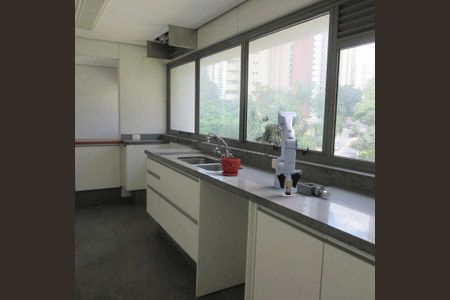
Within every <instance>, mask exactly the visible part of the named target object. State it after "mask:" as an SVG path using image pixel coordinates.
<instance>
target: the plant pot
mask: <svg viewBox="0 0 450 300" xmlns="http://www.w3.org/2000/svg"><path fill="white" fill-rule="evenodd" d="M240 167H241V159H240V158H238V157H222V158H221V169H222V172H221V174H222V175H223V176H225V175H227V176H226V177H236V176H238V175H239V171H240Z"/></svg>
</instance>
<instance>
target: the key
mask: <svg viewBox="0 0 450 300" xmlns="http://www.w3.org/2000/svg"><path fill="white" fill-rule="evenodd" d="M285 186H286V187H285V189H284V193H285V194H286V195H291V193H292V189H291V188H292V181H291V180H290V181H285Z"/></svg>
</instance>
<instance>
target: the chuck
mask: <svg viewBox="0 0 450 300" xmlns="http://www.w3.org/2000/svg"><path fill="white" fill-rule="evenodd" d="M296 193H297V194H298V193H299V194H301V193H302V194H301V195H304V194H305V195H304V196H307V197H314V196H315V197H322V196H323V197H326V198H330V196H331V193H330V191H329V192H328V191H326V190H325V185H322V184H319V183H314V182H305V183H303V182H302V183H300V182H299V183H297V186H296Z"/></svg>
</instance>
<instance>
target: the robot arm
mask: <svg viewBox="0 0 450 300" xmlns="http://www.w3.org/2000/svg"><path fill="white" fill-rule="evenodd" d="M296 120H297V113H296V112H295V111H278V112H277V127H278V128H280V131H281V139H280V140H281V141H280V143H281V145H280V150H281V151H280V156H279V157H277V158H276V160H275V161H276V162H275V174H274V178H273V185H272V188H273V187H274V188H277V189H279V190H285V187H286V186H285V181H291V180H292V181H291V182H292V186H291V190H293V189H297V184H299V180H300V179H301V178H302V170H301V169H296V155H297V153H296V151H297V149H298V143H299V142H298V138H297V137H296V132H295V130H294V129H293V128H294V126H295V124H296Z"/></svg>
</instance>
